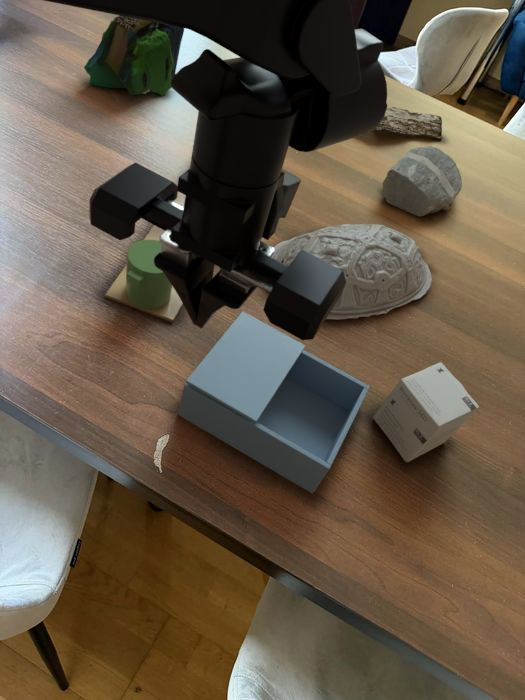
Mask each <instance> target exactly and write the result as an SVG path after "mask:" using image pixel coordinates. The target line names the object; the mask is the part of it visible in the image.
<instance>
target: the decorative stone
mask: <svg viewBox="0 0 525 700" xmlns="http://www.w3.org/2000/svg"><path fill="white" fill-rule="evenodd" d="M462 187H463V180H462V175H461V171H460V169H459V168H458V165H457V163H456V161H455V160H454V159H453V158H452V157H451V156H450V155H448V154H446V153H445V152H444V151H443V150H441V149H440V148H437V147H436V146H432V145H429V146H428V145H427V146H419V147H416V148H411V149H409V150H407V152H406V153H405V154H404V156H403V157H401V158H400V159H399V160H398V161H397V162H396V163H395V164H393V165H392V166H391V168H390V169H388V171H387V174H386V176H385V178H384V180H383V181H382V196H383V197H384V198H385V202H386V203H387V204H390V205H391V206H394V207H395V208H398V209H400V210H403V211H405V212H407V213H409V214H411V215H413V216H417V217H419V218H422V217H425V216H426V215H428V214H431V215H432V214H436V213H439V211H441V210H442V211H443V210H444V211H447V210H450V208H451V206H450V204H451V203H452V202H453V201H454V200H456V198H457V196H458V195H459V193H460V192H461V190H462Z"/></svg>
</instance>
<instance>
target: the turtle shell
mask: <svg viewBox="0 0 525 700" xmlns="http://www.w3.org/2000/svg"><path fill="white" fill-rule="evenodd" d="M272 247H273V248H275V252H274V254H273V255H272V257H271V258H273V259H275V260H277V261H279V262H281V263H283V264H285V265H286V266H289V265H290V264H291V262H292V261H293V260H294V259H295V257H296V256H297V255H298V254H299V252H300V251H301V250H304V251H306V252H308V253H310V254H312V255H314V256H316V257H318V258H320V259H322V260H323V261H325V262H327V263H329V264H331V265H333V266H335V267H337V268H339V269H341V270H343V272H344V276H345V279H346V285H345V287H344V289H343V291H342V293H341V295H340V297H339V299H338V301H337V302H336V304H335V305H334V307H333V309H332V310H331V312H330V313H329V315H328V316H327V318H326V320H348V319H359V317H360V318H361V317H370V316H379V315H382V314H387V313H389V312H390V311H391V310H393V309H396V308H398V307H399V308H400V307H402V306H405V305H408V303H411V302H412V301H416V300H419V299H421V298H422V297H423V296H424V295H426V294H427V292H428V291H429V290H430V288H431V286H432V281H433V279H432V273H431V270H430V268H429V265H428V264H427V263H426V262H425V261H424V260H423V257H422V254H421V248H420V246H419V245H417V244H416V242H415V240H414V239H413V238H411V237H410V236H408V235H406V234H404V233H402V232H399V231H398V230H395V229H393V228H390V227H388V226H386V225H385V224H376V223H360V224H359V223H357V224H356V223H355V224H352V223H351V224H350V223H344V224H336V225H331V226H328V227H327V226H326V227H322V228H320V229H317V230H314V231H311V232H306V233H302V234H299V235H298V236H294V237H292V238H291V239H287V240H284V241H280V242H279V243H278V244H276V245H274V246H272Z"/></svg>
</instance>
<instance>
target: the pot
mask: <svg viewBox="0 0 525 700" xmlns="http://www.w3.org/2000/svg"><path fill="white" fill-rule="evenodd" d="M161 244H162V243H161V242H160V241H157V240H144V239H142V240H138V241H136V242H134V243H133V244H132V245H130V247H129V248H128V250H127V255H126V264H127V268H126V282H125V294H126V296H127V298H128V300H129V301H130V302H131V303H133V304H134V305H136V306H138V307H141V308H145V309H157V308H160V307H163V306H165V305H166V304H167V303H168V302H169V301H170V299H171V297H172V291H173V286H172V285H171V283H170V282H169V280H168V279H167V277H166V275H165V274H164V272H163V271H161V270H160V269H158V268H157V267H156V266H155V265H154V258H155V256H156V255H157V254H158V253H160V252H161Z"/></svg>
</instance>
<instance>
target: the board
mask: <svg viewBox="0 0 525 700" xmlns="http://www.w3.org/2000/svg"><path fill="white" fill-rule="evenodd" d="M185 196H186V195H184V194H182V193H180V192H178V193H177V198H176V199H175V200H174V202H175V203H177V204H179V205H181V206H183V207H184V202H185ZM164 232H165V231H164V230H163V229H161V228H159V227H157V226H155V225H152V227H151V228H150V230H149V232H148V233H147V234H146V236H145V237H144V238H143V240H157V241H159V237H160V235H161V234H162V233H164ZM126 268H127V263H126V264H125V265H124V267H123V268H122V269H121V271H120V273H119V274H118V276H117V277H116V278H115V280H114V281H113V282H112V284H111V285H110V287H109V288H108V290H107V291H106V293H105V294H104V298H107V299H109V300H112V301H115V302H117V303H119V304H123V305H125V306H127V307H131V308H134V309H136V310H139V311H141V312H144V313H147V314H148V315H149V314H150V315H152V316H154V317H157V318H161V319H162V320H166V321H168V322H171V323H174V321H175V319H176V318H177V316H178V315H179V312H180V311H181V309H182V307H183V306H184V305H183V303H182V301H181V299H180V297H179V296H178V294H177V292H176V291H175V289H174V288H173V291H172V297H171V299H170V301H169V302H168V303H167V304H166V305H165V306H163V307H160V308H157V309H145V308H141V307H138V306H136V305H134V304H133V303H131V302H130V301H129V300H128V298H127V296H126V294H125V282H126Z"/></svg>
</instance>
